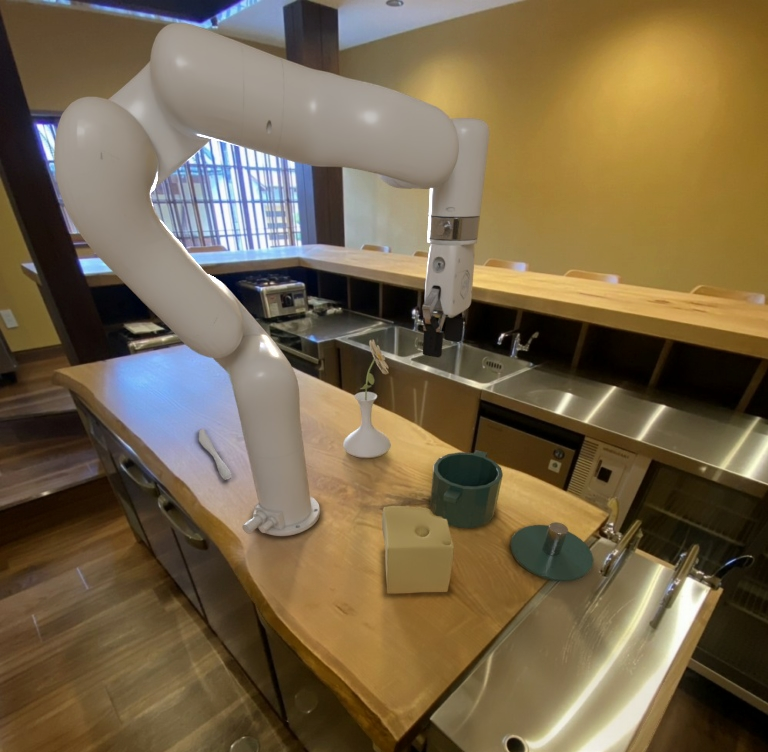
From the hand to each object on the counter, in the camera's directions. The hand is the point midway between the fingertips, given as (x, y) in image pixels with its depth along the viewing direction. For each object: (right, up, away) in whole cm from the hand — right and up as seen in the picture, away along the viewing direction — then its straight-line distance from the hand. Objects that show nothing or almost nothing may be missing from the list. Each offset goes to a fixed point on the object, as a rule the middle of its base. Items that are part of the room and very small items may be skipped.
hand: (442, 347), depth 74 cm
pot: (+5, -28, +10) cm, 30 cm away
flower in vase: (-14, -14, +29) cm, 35 cm away
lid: (+19, -36, -1) cm, 40 cm away
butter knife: (-51, -15, +27) cm, 60 cm away
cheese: (-5, -39, -4) cm, 39 cm away
